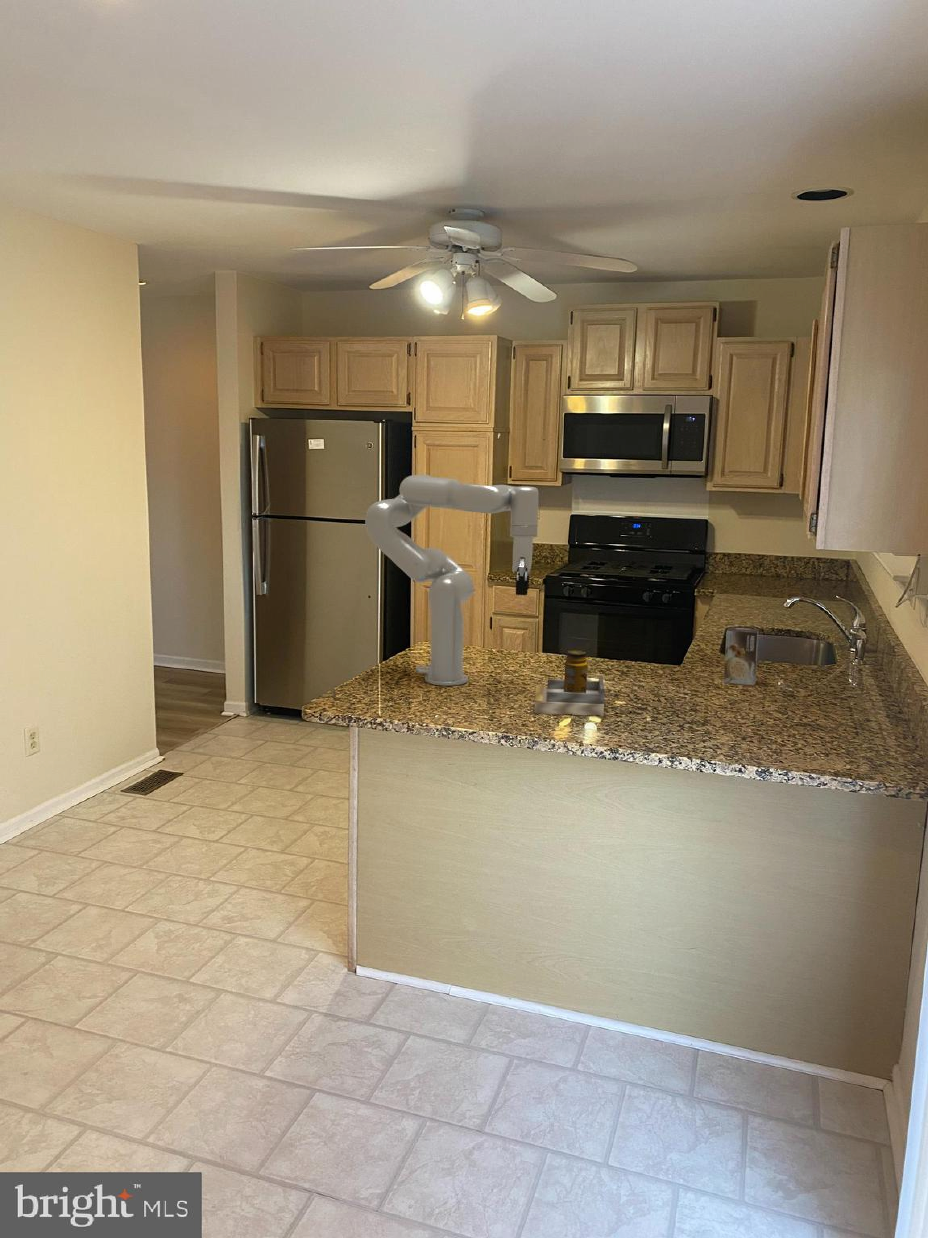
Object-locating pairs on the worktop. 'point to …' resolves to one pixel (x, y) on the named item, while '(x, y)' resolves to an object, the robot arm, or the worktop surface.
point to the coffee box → (741, 656)
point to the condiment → (575, 672)
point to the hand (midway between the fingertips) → (522, 592)
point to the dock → (570, 699)
